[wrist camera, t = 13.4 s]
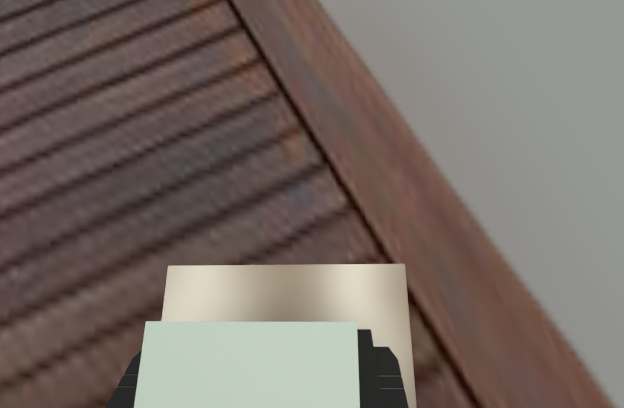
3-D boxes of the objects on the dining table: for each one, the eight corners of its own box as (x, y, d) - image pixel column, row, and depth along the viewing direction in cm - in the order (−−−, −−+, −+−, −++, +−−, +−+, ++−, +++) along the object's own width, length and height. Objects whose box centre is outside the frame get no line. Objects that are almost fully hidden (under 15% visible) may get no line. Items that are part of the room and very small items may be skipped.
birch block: (185, 501, 21) (133, 557, 15) (204, 285, 24) (168, 265, 19) (400, 502, 20) (429, 561, 15) (386, 284, 24) (404, 263, 19)
